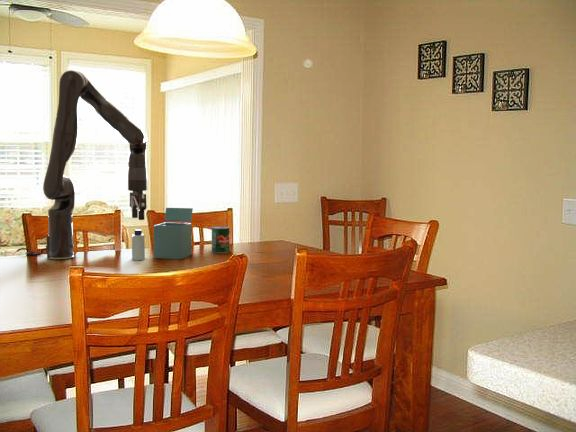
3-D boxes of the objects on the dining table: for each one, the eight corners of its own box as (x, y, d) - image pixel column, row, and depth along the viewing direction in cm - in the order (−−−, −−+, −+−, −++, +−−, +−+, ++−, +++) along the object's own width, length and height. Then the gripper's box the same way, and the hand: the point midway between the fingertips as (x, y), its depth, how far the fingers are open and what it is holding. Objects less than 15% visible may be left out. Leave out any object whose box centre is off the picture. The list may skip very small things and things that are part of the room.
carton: (154, 258, 248) (153, 225, 247) (164, 253, 260) (164, 222, 259) (181, 259, 246) (181, 226, 245) (191, 254, 258) (191, 223, 257)
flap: (166, 207, 260) (166, 207, 260) (164, 220, 258) (164, 221, 259) (192, 208, 258) (192, 208, 258) (191, 221, 256) (191, 221, 257)
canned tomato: (223, 253, 261) (223, 228, 260) (208, 252, 264) (207, 227, 263) (232, 251, 268) (232, 226, 267) (217, 250, 271) (217, 225, 270)
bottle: (130, 260, 243) (129, 230, 242) (135, 257, 248) (134, 229, 247) (141, 260, 242) (141, 230, 241) (146, 258, 247) (146, 229, 246)
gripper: (123, 178, 246) (123, 217, 248) (133, 179, 234) (134, 221, 236) (141, 178, 250) (141, 216, 252) (152, 179, 238) (152, 220, 240)
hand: (138, 218), depth 244 cm, fingers open, 8 cm apart
